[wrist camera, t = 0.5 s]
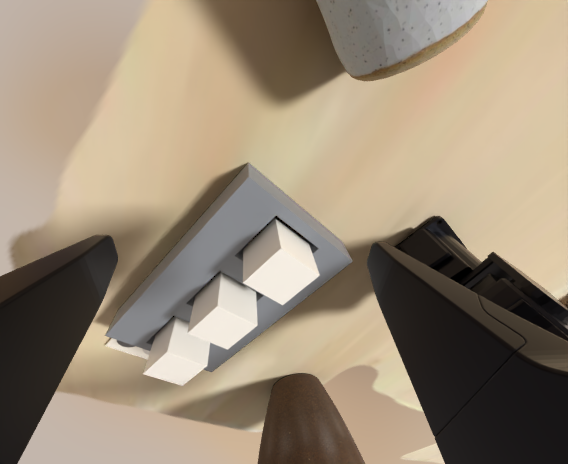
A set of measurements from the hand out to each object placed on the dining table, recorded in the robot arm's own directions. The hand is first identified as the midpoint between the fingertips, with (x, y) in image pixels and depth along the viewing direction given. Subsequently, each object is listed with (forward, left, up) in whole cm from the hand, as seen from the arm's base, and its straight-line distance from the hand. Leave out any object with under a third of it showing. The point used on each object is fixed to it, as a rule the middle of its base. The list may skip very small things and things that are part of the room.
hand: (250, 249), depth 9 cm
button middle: (-7, +11, -11) cm, 17 cm away
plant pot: (-29, +23, -13) cm, 39 cm away
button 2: (-7, +4, -10) cm, 13 cm away
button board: (-7, +11, -13) cm, 18 cm away
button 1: (-7, +18, -11) cm, 22 cm away
